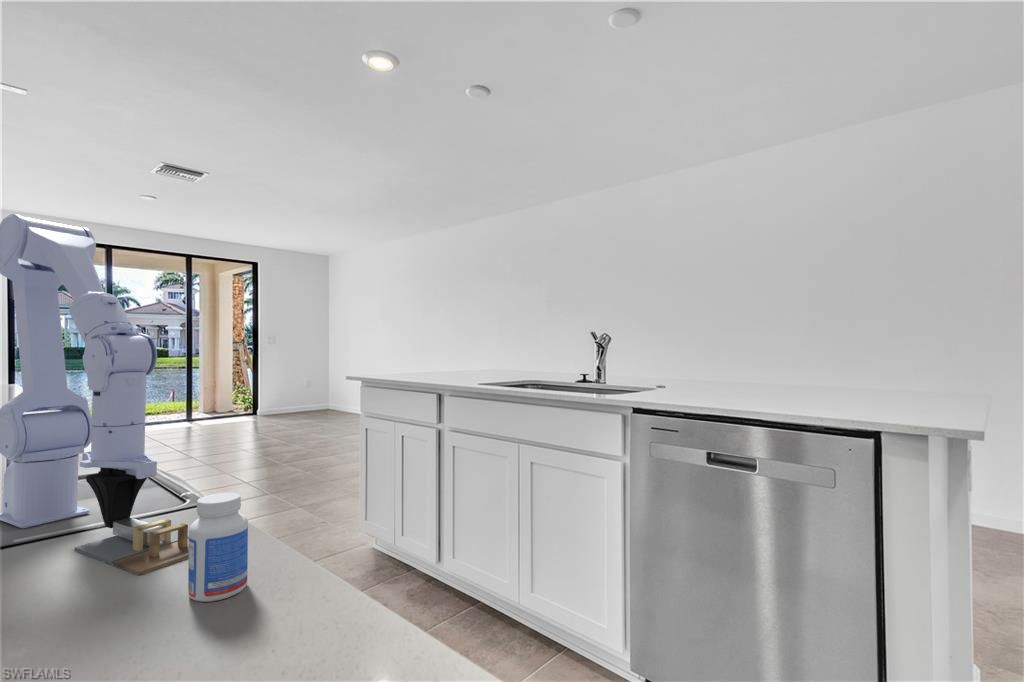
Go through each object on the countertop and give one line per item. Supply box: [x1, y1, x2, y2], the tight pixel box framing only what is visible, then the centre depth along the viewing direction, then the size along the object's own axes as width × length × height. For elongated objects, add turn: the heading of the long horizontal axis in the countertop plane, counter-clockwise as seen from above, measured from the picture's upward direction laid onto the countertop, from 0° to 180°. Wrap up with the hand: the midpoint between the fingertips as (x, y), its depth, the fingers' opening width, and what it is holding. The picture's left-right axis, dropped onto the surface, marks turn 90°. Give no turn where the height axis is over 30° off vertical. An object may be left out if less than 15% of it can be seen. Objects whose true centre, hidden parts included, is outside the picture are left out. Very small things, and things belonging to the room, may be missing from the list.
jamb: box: [112, 522, 189, 576], centre depth 63 cm, size 5×10×3 cm, turn 153°
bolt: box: [112, 517, 164, 546], centre depth 66 cm, size 8×2×2 cm, turn 63°
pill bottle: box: [187, 492, 249, 603], centre depth 54 cm, size 6×5×10 cm
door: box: [73, 518, 189, 565], centre depth 66 cm, size 9×10×3 cm
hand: (116, 525), depth 68 cm, fingers closed
